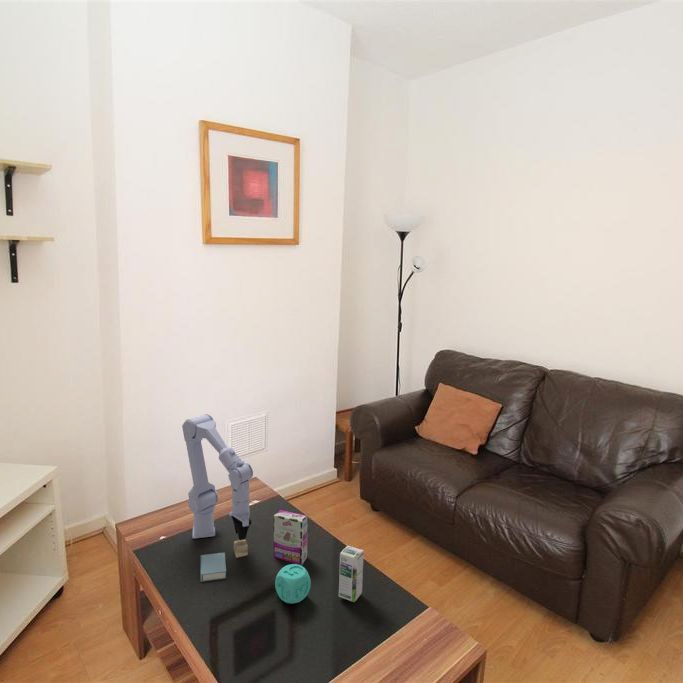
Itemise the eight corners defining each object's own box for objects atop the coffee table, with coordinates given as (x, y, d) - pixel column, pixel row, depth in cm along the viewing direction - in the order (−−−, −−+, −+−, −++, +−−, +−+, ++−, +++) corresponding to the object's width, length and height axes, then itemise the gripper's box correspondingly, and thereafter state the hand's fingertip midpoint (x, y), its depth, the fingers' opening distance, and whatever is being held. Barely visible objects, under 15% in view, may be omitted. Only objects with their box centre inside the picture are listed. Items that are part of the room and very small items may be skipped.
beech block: (233, 554, 171) (233, 541, 170) (245, 552, 172) (245, 539, 172) (236, 560, 167) (236, 547, 167) (247, 558, 169) (247, 544, 168)
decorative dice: (274, 594, 150) (274, 570, 149) (294, 583, 155) (294, 560, 154) (290, 607, 144) (291, 582, 143) (311, 595, 150) (311, 571, 149)
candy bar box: (307, 559, 169) (308, 515, 167) (301, 567, 164) (302, 521, 162) (279, 552, 173) (280, 508, 171) (272, 559, 168) (272, 515, 166)
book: (200, 562, 166) (200, 555, 165) (224, 559, 168) (224, 552, 168) (200, 582, 155) (200, 574, 155) (226, 578, 157) (226, 570, 157)
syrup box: (337, 597, 149) (339, 553, 148) (346, 586, 155) (347, 544, 153) (354, 603, 147) (355, 558, 145) (362, 592, 152) (364, 549, 150)
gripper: (224, 492, 172) (224, 528, 174) (234, 510, 159) (234, 549, 161) (244, 489, 175) (244, 524, 177) (255, 506, 162) (254, 544, 164)
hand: (240, 536), depth 169 cm, fingers open, 4 cm apart
